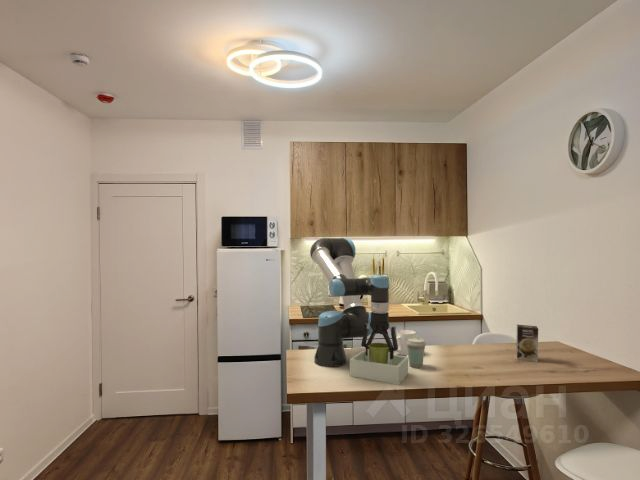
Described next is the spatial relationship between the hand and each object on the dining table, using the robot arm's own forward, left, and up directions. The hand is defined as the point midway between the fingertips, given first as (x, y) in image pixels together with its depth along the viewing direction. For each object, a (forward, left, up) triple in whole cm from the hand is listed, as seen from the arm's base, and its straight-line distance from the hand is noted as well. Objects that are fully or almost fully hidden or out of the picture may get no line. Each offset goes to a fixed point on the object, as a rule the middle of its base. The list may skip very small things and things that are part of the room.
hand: (379, 364), depth 171 cm
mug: (+1, +37, -4) cm, 37 cm away
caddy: (0, 0, -4) cm, 4 cm away
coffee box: (+56, +55, -4) cm, 79 cm away
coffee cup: (+11, +19, -4) cm, 22 cm away
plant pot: (0, 0, -1) cm, 1 cm away
